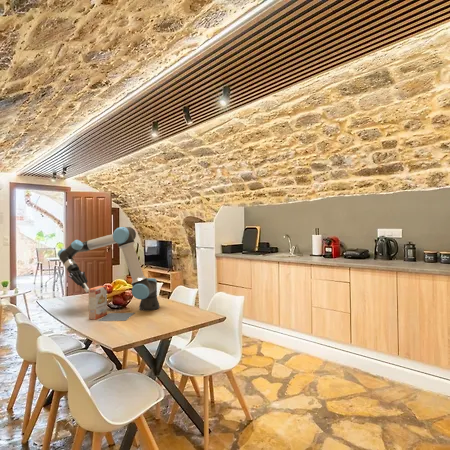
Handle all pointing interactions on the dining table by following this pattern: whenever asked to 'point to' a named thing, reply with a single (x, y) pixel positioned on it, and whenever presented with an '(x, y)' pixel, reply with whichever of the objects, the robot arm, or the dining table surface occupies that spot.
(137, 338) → the dining table surface
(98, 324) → the dining table surface
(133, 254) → the robot arm
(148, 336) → the dining table surface
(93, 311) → the cracker box
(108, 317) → the mat
